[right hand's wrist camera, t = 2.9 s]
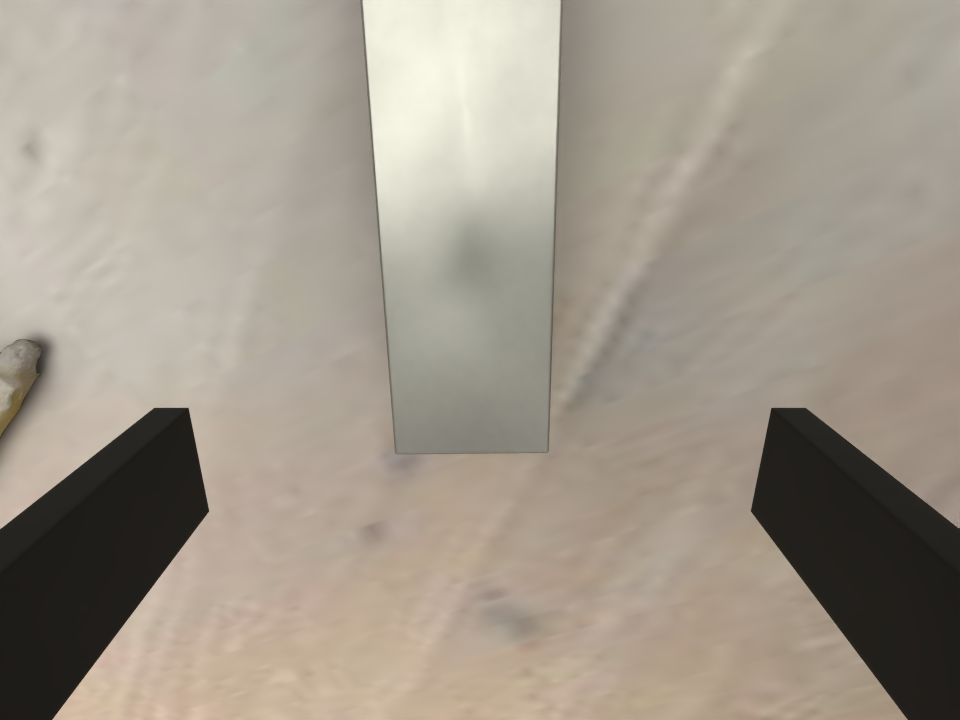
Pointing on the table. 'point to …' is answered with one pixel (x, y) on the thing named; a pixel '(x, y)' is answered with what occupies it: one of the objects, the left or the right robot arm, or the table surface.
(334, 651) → the table surface
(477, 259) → the bar
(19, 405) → the syringe
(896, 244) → the table surface
